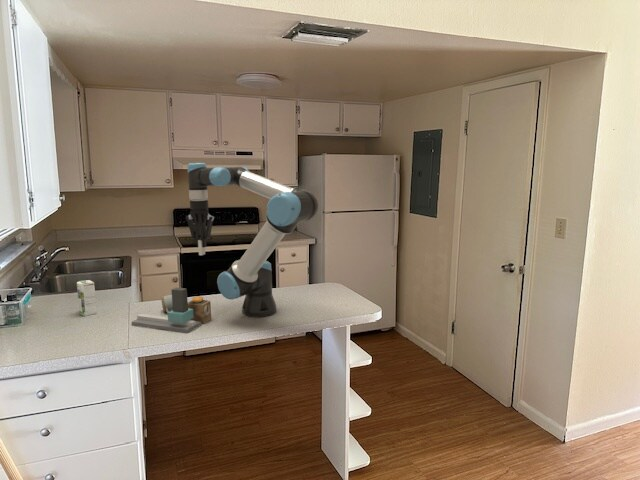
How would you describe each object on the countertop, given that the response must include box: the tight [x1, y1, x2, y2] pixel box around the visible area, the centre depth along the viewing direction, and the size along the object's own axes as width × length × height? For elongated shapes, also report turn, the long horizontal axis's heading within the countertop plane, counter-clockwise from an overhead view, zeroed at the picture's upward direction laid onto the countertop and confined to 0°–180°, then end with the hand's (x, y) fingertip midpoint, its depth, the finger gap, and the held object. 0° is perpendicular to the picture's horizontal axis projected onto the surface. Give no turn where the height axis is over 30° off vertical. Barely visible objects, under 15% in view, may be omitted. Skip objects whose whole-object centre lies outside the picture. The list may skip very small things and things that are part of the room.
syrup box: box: [76, 279, 98, 317], centre depth 194 cm, size 6×6×14 cm
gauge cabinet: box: [188, 299, 212, 325], centre depth 185 cm, size 9×6×8 cm
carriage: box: [167, 287, 194, 324], centre depth 176 cm, size 7×7×13 cm
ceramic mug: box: [161, 294, 173, 314], centre depth 196 cm, size 11×8×8 cm
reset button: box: [191, 295, 204, 302], centre depth 184 cm, size 4×4×1 cm
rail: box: [131, 313, 202, 334], centre depth 180 cm, size 27×9×3 cm, turn 70°
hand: (202, 254), depth 191 cm, fingers closed
